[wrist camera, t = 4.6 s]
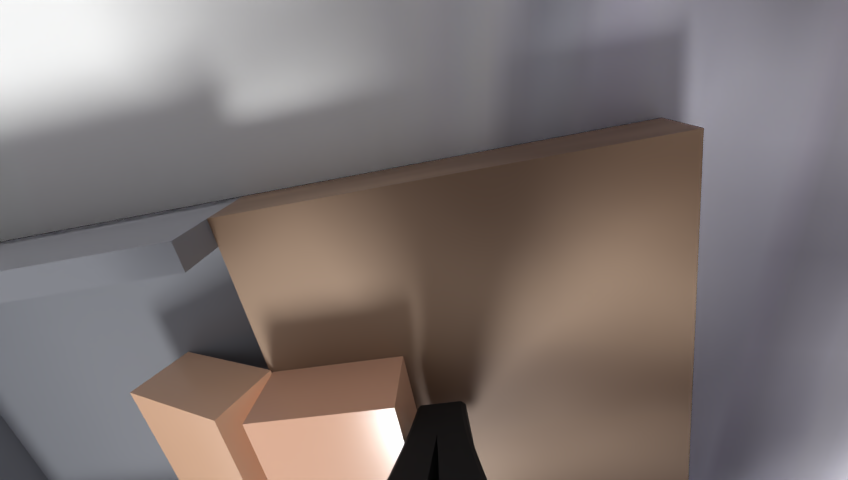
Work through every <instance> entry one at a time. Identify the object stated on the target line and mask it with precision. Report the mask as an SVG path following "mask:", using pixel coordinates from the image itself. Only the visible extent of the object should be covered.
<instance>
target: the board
mask: <svg viewBox="0 0 848 480" xmlns="http://www.w3.org/2000/svg"><path fill="white" fill-rule="evenodd" d="M703 133H704V128H701V127H697V126H693V125H689V124H685V123H681V122H677V121H673V120H669V119H665V118H658V119H653V120H647V121H642V122H637V123H631V124H626V125H621V126H615V127H610V128H605V129H599V130H594V131H589V132H583V133H578V134H573V135H567V136H562V137H557V138H551V139H546V140H541V141H535V142H530V143H525V144H519V145H514V146H509V147H503V148H498V149H493V150H487V151H482V152H477V153H471V154H466V155H461V156H455V157H450V158H445V159H439V160H434V161H429V162H423V163H418V164H413V165H407V166H402V167H397V168H391V169H386V170H381V171H375V172H370V173H365V174H359V175H354V176H349V177H344V178H338V179H333V180H328V181H322V182H317V183H312V184H306V185H301V186H296V187H290V188H285V189H280V190H274V191H269V192H264V193H258V194H253V195H248V196H242V197H241V198H239V199H237V200H236V201H234V202H233V203H231V204H229V205H228V206H226V207H225V208H223V209H222V210H220V211H218V212H217V213H215V214H214V215H212V216H210V217H209V218H207V220H208V223H209V225H210V228H211V230H212V233H213V235H214V237H215V240H216V242H217V245H218V247H219V250H220V252H221V254H222V257H223V259H224V262H225V264H226V267H227V269H228V271H229V274H230V276H231V279H232V281H233V284H234V286H235V288H236V291H237V293H238V296H239V298H240V300H241V303H242V305H243V308H244V310H245V313H246V315H247V317H248V320H249V322H250V325H251V327H252V330H253V332H254V334H255V337H256V339H257V342H258V344H259V347H260V349H261V351H262V354H263V356H264V359H265V361H266V363H267V366H268V368H269V370H271V372H272V373H273V372H277V371H285V370H293V369H302V368H310V367H318V366H326V365H334V364H342V363H350V362H358V361H366V360H375V359H383V358H391V357H399V356H403V358H404V362H405V366H406V370H407V373H408V377H409V381H410V385H411V389H412V393H413V397H414V401H415V405H416V409H418V408H419V407H420V406H421V405H429V404H438V403H447V402H456V401H462V402H464V403H465V404H466V407H467V412H468V417H469V422H470V427H471V432H472V437H473V442H474V446H475V449H476V452H477V455H478V457H479V460H480V463H481V465H482V468H483V470H484V473H485V475H486V478H487V480H688V477H689V454H690V432H691V409H692V386H693V363H694V340H695V317H696V294H697V271H698V248H699V225H700V202H701V179H702V156H703Z"/></svg>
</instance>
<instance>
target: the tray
mask: <svg viewBox="0 0 848 480" xmlns="http://www.w3.org/2000/svg"><path fill="white" fill-rule="evenodd" d="M239 198H241V197H237V198H232V199H226V200H221V201H216V202H210V203H205V204H200V205H194V206H189V207H184V208H178V209H173V210H168V211H162V212H157V213H152V214H146V215H141V216H136V217H130V218H125V219H120V220H114V221H109V222H104V223H98V224H93V225H88V226H82V227H77V228H72V229H66V230H61V231H56V232H50V233H45V234H40V235H34V236H29V237H24V238H18V239H13V240H8V241H2V242H0V480H179V479H178V477H177V475H176V473H175V472H174V470H173V468H172V466H171V464H170V463H169V461H168V459H167V457H166V456H165V454H164V452H163V450H162V449H161V447H160V445H159V443H158V441H157V440H156V438H155V436H154V434H153V433H152V431H151V429H150V427H149V425H148V424H147V422H146V420H145V418H144V417H143V415H142V413H141V411H140V410H139V408H138V406H137V404H136V402H135V401H134V399H133V397H132V395H131V394H130V392H132V391H133V390H134V389H136V388H137V387H139V386H140V385H142V384H143V383H144V382H146V381H147V380H149V379H150V378H152V377H153V376H154V375H156V374H157V373H159V372H160V371H162V370H163V369H164V368H166V367H167V366H169V365H170V364H172V363H173V362H174V361H176V360H177V359H179V358H180V357H182V356H183V355H184V354H186V353H187V352H192V353H196V354H201V355H205V356H210V357H214V358H218V359H223V360H227V361H232V362H236V363H241V364H245V365H250V366H254V367H259V368H263V369H268V370H269V368H268V366H267V363H266V361H265V359H264V356H263V354H262V351H261V349H260V347H259V344H258V342H257V339H256V337H255V334H254V332H253V330H252V327H251V325H250V322H249V320H248V317H247V315H246V313H245V310H244V308H243V305H242V303H241V300H240V298H239V296H238V293H237V291H236V288H235V286H234V284H233V281H232V279H231V276H230V274H229V271H228V269H227V267H226V264H225V262H224V259H223V257H222V254H221V252H220V250H219V247H218V245H217V242H216V240H215V237H214V235H213V233H212V230H211V228H210V225H209V223H208V220H207V218H209V217H210V216H212V215H214V214H215V213H217V212H218V211H220V210H222V209H223V208H225V207H226V206H228V205H229V204H231V203H233V202H234V201H236V200H237V199H239Z"/></svg>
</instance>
